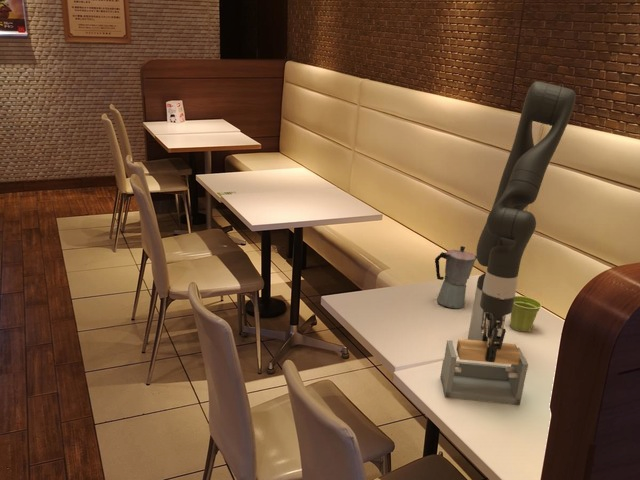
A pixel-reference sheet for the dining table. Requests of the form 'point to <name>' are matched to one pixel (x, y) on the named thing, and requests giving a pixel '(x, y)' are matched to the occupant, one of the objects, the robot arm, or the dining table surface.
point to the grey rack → (482, 379)
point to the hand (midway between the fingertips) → (487, 355)
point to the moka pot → (455, 277)
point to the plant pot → (524, 313)
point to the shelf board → (478, 349)
